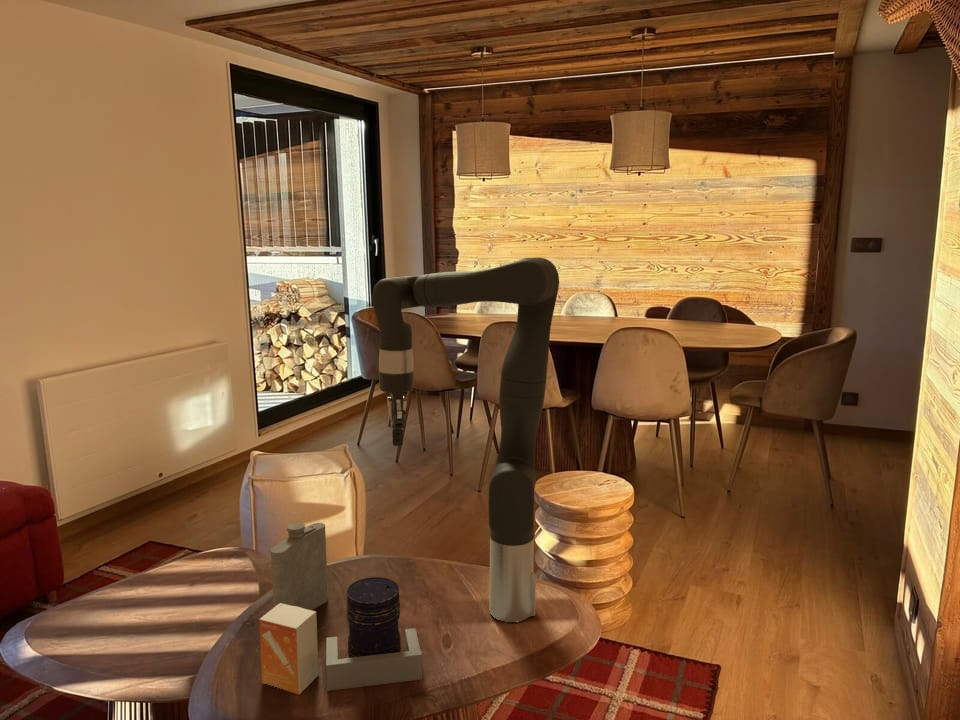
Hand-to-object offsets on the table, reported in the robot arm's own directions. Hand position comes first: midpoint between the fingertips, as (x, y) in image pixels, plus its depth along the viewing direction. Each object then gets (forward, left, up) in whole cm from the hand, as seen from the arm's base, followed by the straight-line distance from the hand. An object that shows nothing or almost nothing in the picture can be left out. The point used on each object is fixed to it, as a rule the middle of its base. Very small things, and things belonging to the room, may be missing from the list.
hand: (397, 444), depth 163 cm
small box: (+23, +33, -33) cm, 52 cm away
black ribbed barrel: (+8, +31, -33) cm, 46 cm away
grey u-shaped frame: (+8, +32, -33) cm, 47 cm away
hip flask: (+22, +10, -33) cm, 41 cm away
